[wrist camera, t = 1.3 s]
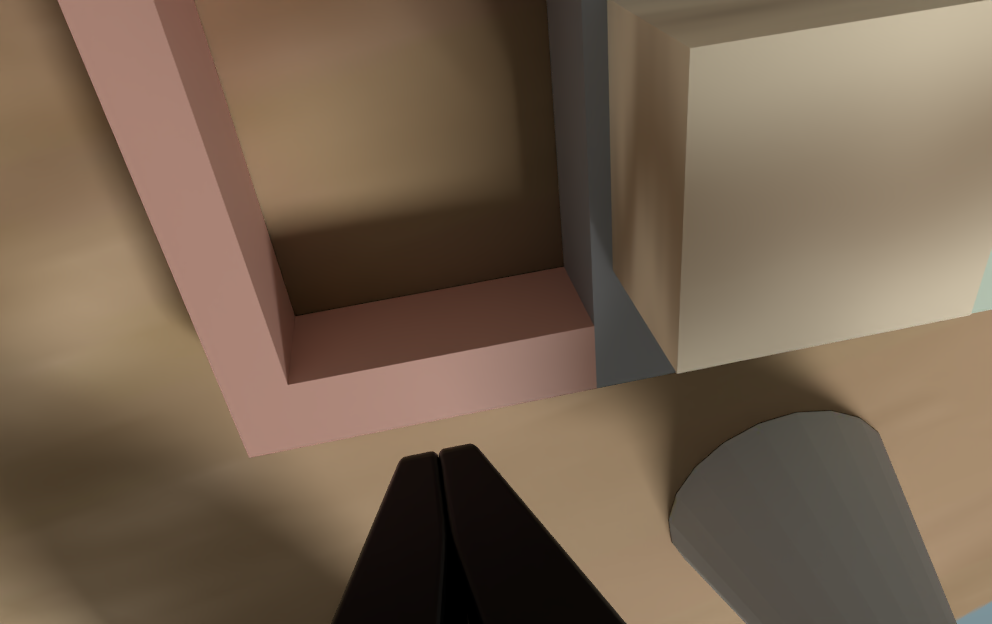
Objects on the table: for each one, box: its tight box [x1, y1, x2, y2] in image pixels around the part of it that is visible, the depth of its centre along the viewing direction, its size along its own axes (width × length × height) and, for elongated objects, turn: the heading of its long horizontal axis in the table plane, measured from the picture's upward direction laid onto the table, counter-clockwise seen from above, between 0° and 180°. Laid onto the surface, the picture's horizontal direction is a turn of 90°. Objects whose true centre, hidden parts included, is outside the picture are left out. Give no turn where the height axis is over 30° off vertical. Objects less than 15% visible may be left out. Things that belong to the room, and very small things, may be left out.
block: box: [607, 0, 992, 374], centre depth 14 cm, size 6×6×4 cm
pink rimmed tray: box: [58, 0, 992, 458], centre depth 17 cm, size 13×34×3 cm, turn 96°
